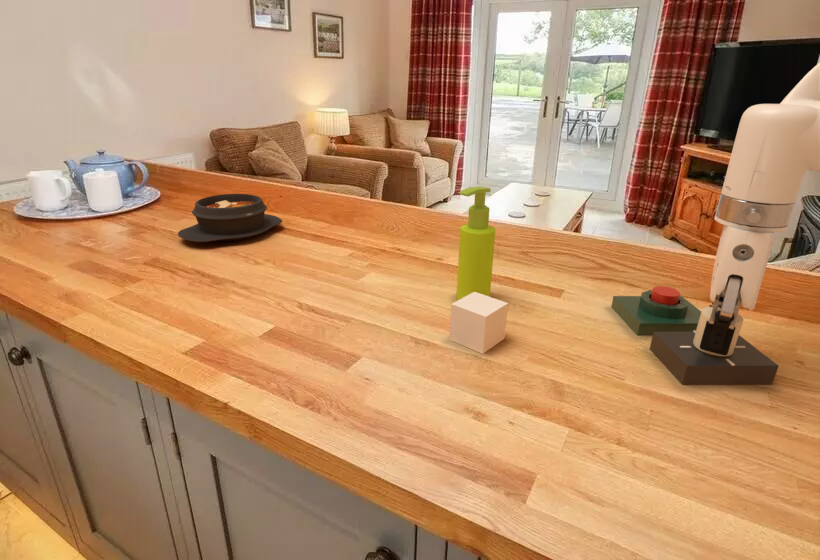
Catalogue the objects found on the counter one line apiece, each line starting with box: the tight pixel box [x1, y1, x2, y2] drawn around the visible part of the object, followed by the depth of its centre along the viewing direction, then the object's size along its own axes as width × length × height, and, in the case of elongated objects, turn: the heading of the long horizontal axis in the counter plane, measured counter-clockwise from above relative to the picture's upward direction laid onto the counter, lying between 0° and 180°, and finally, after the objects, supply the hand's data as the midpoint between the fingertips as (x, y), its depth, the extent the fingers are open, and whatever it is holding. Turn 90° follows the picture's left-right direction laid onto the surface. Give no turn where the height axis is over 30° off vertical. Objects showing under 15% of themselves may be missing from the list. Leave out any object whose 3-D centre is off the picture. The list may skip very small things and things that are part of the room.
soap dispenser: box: [456, 186, 496, 301], centre depth 83 cm, size 6×7×20 cm
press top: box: [651, 285, 681, 305], centre depth 79 cm, size 4×4×2 cm
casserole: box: [177, 193, 283, 243], centre depth 118 cm, size 25×19×8 cm
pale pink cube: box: [449, 292, 509, 355], centre depth 73 cm, size 6×6×6 cm
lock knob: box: [693, 306, 744, 356], centre depth 66 cm, size 5×5×5 cm
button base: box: [610, 289, 702, 337], centre depth 80 cm, size 12×10×4 cm
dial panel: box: [649, 331, 779, 386], centre depth 68 cm, size 12×9×3 cm
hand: (714, 341), depth 67 cm, fingers closed on lock knob, 4 cm apart
